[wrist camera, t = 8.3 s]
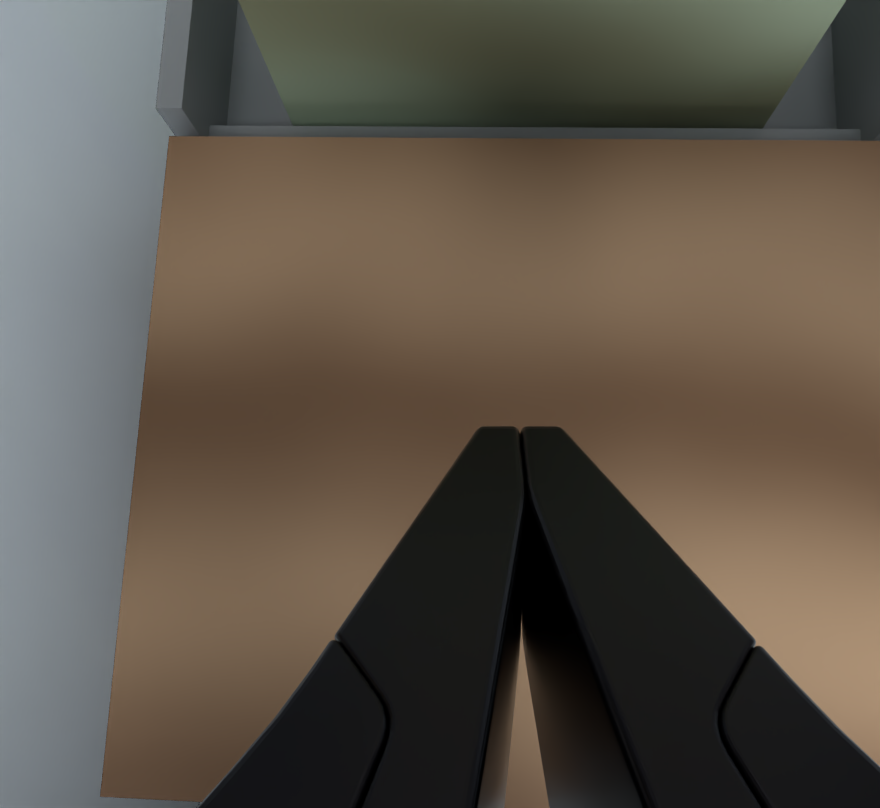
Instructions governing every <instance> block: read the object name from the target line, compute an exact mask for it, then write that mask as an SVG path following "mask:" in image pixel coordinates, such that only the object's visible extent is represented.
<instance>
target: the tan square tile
mask: <svg viewBox="0 0 880 808" xmlns="http://www.w3.org/2000/svg"><path fill="white" fill-rule="evenodd" d="M481 426H514V427H516V428H517V429H518V430H519V432H520V431H521V430H522V428H524V427H526V426H559V427H561V428H562V429H564V430H565V431H566V432H567V434H568V435H569V436H570V437H571V438H572V439H573V440H574V441H575V442H576V443H577V445H578V446H579V447H580V448H581V449H582V450H583V451H584V452H585V453H586V454H587V455H588V457H589V458H590V459H591V460H592V461H593V462H594V463H595V464H596V465H597V466H598V468H599V469H600V470H601V471H602V472H603V473H604V474H605V475H606V476H607V477H608V478H609V480H610V481H611V482H612V483H613V484H614V485H615V486H616V487H617V488H618V489H619V491H620V492H621V493H622V494H623V495H624V496H625V497H626V498H627V499H628V500H629V502H630V503H631V504H632V505H633V506H634V507H635V508H636V509H637V510H638V511H639V512H640V514H641V515H642V516H643V517H644V518H645V519H646V520H647V521H648V522H649V523H650V525H651V526H652V527H653V528H654V529H655V530H656V531H657V532H658V533H659V534H660V535H661V537H662V538H663V539H664V540H665V541H666V542H667V543H668V544H669V545H670V546H671V548H672V549H673V550H674V551H675V552H676V553H677V554H678V555H679V556H680V557H681V559H682V560H683V561H684V562H685V563H686V564H687V565H688V566H689V567H690V568H691V569H692V571H693V572H694V573H695V574H696V575H697V576H698V577H699V578H700V579H701V580H702V582H703V583H704V584H705V585H706V586H707V587H708V588H709V589H710V590H711V591H712V592H713V594H714V595H715V596H716V597H717V598H718V599H719V600H720V601H721V602H722V603H723V605H724V606H725V607H726V608H727V609H728V610H729V611H730V612H731V613H732V614H733V616H734V617H735V618H736V619H737V620H738V621H739V622H740V623H741V624H742V625H743V626H744V628H745V629H746V630H747V631H748V632H749V633H750V634H751V635H752V636H753V637H754V639H755V641H756V646H762V647H763V648H764V649H765V650H766V651H767V652H768V653H769V654H770V656H771V657H772V658H773V659H774V660H775V661H776V662H777V663H778V664H779V665H780V666H781V668H782V669H783V670H784V671H785V672H786V673H787V674H788V675H789V676H790V677H791V678H792V679H793V681H794V682H795V683H796V684H797V685H798V686H799V687H800V688H801V689H802V690H803V691H804V692H805V693H806V694H807V695H808V696H809V697H810V698H811V699H812V700H813V701H814V702H815V703H816V704H817V705H818V706H819V708H820V709H821V710H822V711H823V712H824V713H825V714H826V715H827V716H828V717H829V718H830V719H831V720H832V721H833V722H834V723H835V724H836V725H837V726H838V727H839V728H840V729H841V730H842V731H843V732H844V733H845V734H846V735H847V736H848V737H849V738H850V739H851V740H853V741H854V742H855V743H856V744H857V745H858V746H859V747H860V748H861V749H862V750H863V751H864V752H865V753H866V754H867V755H868V756H869V757H871V758H872V759H873V760H874V761H875V762H876V763H877V764H878V765H879V766H880V141H831V140H678V139H524V138H371V137H217V136H169V143H168V153H167V162H166V172H165V181H164V191H163V200H162V210H161V219H160V229H159V239H158V248H157V258H156V267H155V277H154V286H153V296H152V306H151V315H150V325H149V334H148V344H147V353H146V363H145V372H144V382H143V392H142V401H141V411H140V420H139V430H138V439H137V449H136V459H135V468H134V478H133V487H132V497H131V506H130V516H129V525H128V535H127V545H126V554H125V564H124V573H123V583H122V592H121V602H120V612H119V621H118V631H117V640H116V650H115V659H114V669H113V678H112V688H111V698H110V707H109V717H108V726H107V736H106V745H105V755H104V765H103V774H102V784H101V793H100V797H117V798H136V799H155V800H174V801H193V802H202V801H203V800H204V799H205V798H206V797H207V796H208V794H209V793H210V792H211V791H212V790H213V789H214V788H215V787H216V785H217V784H218V783H219V782H220V781H221V780H222V779H223V778H224V776H225V775H226V774H227V773H228V772H229V771H230V770H231V768H232V767H233V766H234V765H235V764H236V763H237V761H238V760H239V759H240V758H241V757H242V755H243V754H244V753H245V752H246V751H247V750H248V748H249V747H250V746H251V745H252V744H253V743H254V741H255V740H256V739H257V738H258V737H259V735H260V734H261V733H262V732H263V731H264V730H265V728H266V727H267V726H268V725H269V724H270V722H271V721H272V720H273V719H274V718H275V716H276V715H277V714H278V712H279V711H280V710H281V708H282V707H283V706H284V704H285V703H286V701H287V700H288V699H289V697H290V696H291V695H292V693H293V692H294V691H295V689H296V688H297V687H298V685H299V684H300V683H301V681H302V680H303V679H304V677H305V676H306V675H307V673H308V672H309V670H310V669H311V668H312V666H313V665H314V663H315V662H316V660H317V659H318V657H319V656H320V655H321V653H322V652H323V650H324V649H325V647H326V646H327V644H328V643H329V642H330V641H331V640H335V639H334V638H335V634H336V632H337V631H338V629H339V628H340V626H341V625H342V623H343V622H344V621H345V619H346V618H347V616H348V615H349V613H350V612H351V610H352V609H353V608H354V606H355V605H356V603H357V602H358V600H359V599H360V597H361V596H362V595H363V593H364V592H365V590H366V589H367V587H368V586H369V584H370V583H371V582H372V580H373V579H374V577H375V576H376V574H377V573H378V571H379V570H380V569H381V567H382V566H383V564H384V563H385V561H386V560H387V558H388V557H389V556H390V554H391V553H392V551H393V550H394V548H395V547H396V545H397V544H398V543H399V541H400V540H401V538H402V537H403V535H404V534H405V532H406V531H407V530H408V528H409V527H410V525H411V524H412V522H413V521H414V520H415V518H416V517H417V515H418V514H419V512H420V511H421V509H422V508H423V507H424V505H425V504H426V502H427V501H428V499H429V498H430V496H431V495H432V494H433V492H434V491H435V489H436V488H437V486H438V485H439V483H440V482H441V481H442V479H443V478H444V476H445V475H446V473H447V472H448V470H449V469H450V468H451V466H452V465H453V463H454V462H455V460H456V459H457V457H458V456H459V455H460V453H461V452H462V450H463V449H464V447H465V446H466V444H467V443H468V442H469V440H470V439H471V437H472V436H473V434H474V433H475V432H476V430H477V429H478V428H480V427H481ZM504 808H549V802H548V796H547V790H546V784H545V778H544V772H543V765H542V759H541V753H540V747H539V741H538V735H537V729H536V723H535V717H534V710H533V704H532V698H531V692H530V686H529V680H528V674H527V668H526V661H525V654H524V646H523V638H522V623H521V640H520V655H519V667H518V677H517V686H516V696H515V706H514V716H513V726H512V736H511V746H510V756H509V766H508V776H507V785H506V795H505V805H504Z"/></svg>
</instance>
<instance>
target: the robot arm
mask: <svg viewBox="0 0 880 808" xmlns="http://www.w3.org/2000/svg"><path fill="white" fill-rule="evenodd" d="M521 623H522V638H523V646H524V654H525V661H526V668H527V674H528V680H529V686H530V692H531V698H532V704H533V710H534V717H535V723H536V729H537V735H538V741H539V747H540V753H541V759H542V765H543V772H544V778H545V784H546V790H547V796H548V802H549V808H880V766H879V765H878V764H877V763H876V762H875V761H874V760H873V759H872V758H871V757H869V756H868V755H867V754H866V753H865V752H864V751H863V750H862V749H861V748H860V747H859V746H858V745H857V744H856V743H855V742H854V741H853V740H851V739H850V738H849V737H848V736H847V735H846V734H845V733H844V732H843V731H842V730H841V729H840V728H839V727H838V726H837V725H836V724H835V723H834V722H833V721H832V720H831V719H830V718H829V717H828V716H827V715H826V714H825V713H824V712H823V711H822V710H821V709H820V708H819V706H818V705H817V704H816V703H815V702H814V701H813V700H812V699H811V698H810V697H809V696H808V695H807V694H806V693H805V692H804V691H803V690H802V689H801V688H800V687H799V686H798V685H797V684H796V683H795V682H794V681H793V679H792V678H791V677H790V676H789V675H788V674H787V673H786V672H785V671H784V670H783V669H782V668H781V666H780V665H779V664H778V663H777V662H776V661H775V660H774V659H773V658H772V657H771V656H770V654H769V653H768V652H767V651H766V650H765V649H764V648H763V647H762V646H756V641H755V639H754V637H753V636H752V635H751V634H750V633H749V632H748V631H747V630H746V629H745V628H744V626H743V625H742V624H741V623H740V622H739V621H738V620H737V619H736V618H735V617H734V616H733V614H732V613H731V612H730V611H729V610H728V609H727V608H726V607H725V606H724V605H723V603H722V602H721V601H720V600H719V599H718V598H717V597H716V596H715V595H714V594H713V592H712V591H711V590H710V589H709V588H708V587H707V586H706V585H705V584H704V583H703V582H702V580H701V579H700V578H699V577H698V576H697V575H696V574H695V573H694V572H693V571H692V569H691V568H690V567H689V566H688V565H687V564H686V563H685V562H684V561H683V560H682V559H681V557H680V556H679V555H678V554H677V553H676V552H675V551H674V550H673V549H672V548H671V546H670V545H669V544H668V543H667V542H666V541H665V540H664V539H663V538H662V537H661V535H660V534H659V533H658V532H657V531H656V530H655V529H654V528H653V527H652V526H651V525H650V523H649V522H648V521H647V520H646V519H645V518H644V517H643V516H642V515H641V514H640V512H639V511H638V510H637V509H636V508H635V507H634V506H633V505H632V504H631V503H630V502H629V500H628V499H627V498H626V497H625V496H624V495H623V494H622V493H621V492H620V491H619V489H618V488H617V487H616V486H615V485H614V484H613V483H612V482H611V481H610V480H609V478H608V477H607V476H606V475H605V474H604V473H603V472H602V471H601V470H600V469H599V468H598V466H597V465H596V464H595V463H594V462H593V461H592V460H591V459H590V458H589V457H588V455H587V454H586V453H585V452H584V451H583V450H582V449H581V448H580V447H579V446H578V445H577V443H576V442H575V441H574V440H573V439H572V438H571V437H570V436H569V435H568V434H567V432H566V431H565V430H564V429H562V428H561V427H559V426H526V427H524V428H522V430H521V431H520V432H519V430H518V429H517V428H516V427H514V426H481V427H480V428H478V429H477V430H476V432H475V433H474V434H473V436H472V437H471V439H470V440H469V442H468V443H467V444H466V446H465V447H464V449H463V450H462V452H461V453H460V455H459V456H458V457H457V459H456V460H455V462H454V463H453V465H452V466H451V468H450V469H449V470H448V472H447V473H446V475H445V476H444V478H443V479H442V481H441V482H440V483H439V485H438V486H437V488H436V489H435V491H434V492H433V494H432V495H431V496H430V498H429V499H428V501H427V502H426V504H425V505H424V507H423V508H422V509H421V511H420V512H419V514H418V515H417V517H416V518H415V520H414V521H413V522H412V524H411V525H410V527H409V528H408V530H407V531H406V532H405V534H404V535H403V537H402V538H401V540H400V541H399V543H398V544H397V545H396V547H395V548H394V550H393V551H392V553H391V554H390V556H389V557H388V558H387V560H386V561H385V563H384V564H383V566H382V567H381V569H380V570H379V571H378V573H377V574H376V576H375V577H374V579H373V580H372V582H371V583H370V584H369V586H368V587H367V589H366V590H365V592H364V593H363V595H362V596H361V597H360V599H359V600H358V602H357V603H356V605H355V606H354V608H353V609H352V610H351V612H350V613H349V615H348V616H347V618H346V619H345V621H344V622H343V623H342V625H341V626H340V628H339V629H338V631H337V632H336V634H335V638H334V639H335V640H331V641H330V642H329V643H328V644H327V646H326V647H325V649H324V650H323V652H322V653H321V655H320V656H319V657H318V659H317V660H316V662H315V663H314V665H313V666H312V668H311V669H310V670H309V672H308V673H307V675H306V676H305V677H304V679H303V680H302V681H301V683H300V684H299V685H298V687H297V688H296V689H295V691H294V692H293V693H292V695H291V696H290V697H289V699H288V700H287V701H286V703H285V704H284V706H283V707H282V708H281V710H280V711H279V712H278V714H277V715H276V716H275V718H274V719H273V720H272V721H271V722H270V724H269V725H268V726H267V727H266V728H265V730H264V731H263V732H262V733H261V734H260V735H259V737H258V738H257V739H256V740H255V741H254V743H253V744H252V745H251V746H250V747H249V748H248V750H247V751H246V752H245V753H244V754H243V755H242V757H241V758H240V759H239V760H238V761H237V763H236V764H235V765H234V766H233V767H232V768H231V770H230V771H229V772H228V773H227V774H226V775H225V776H224V778H223V779H222V780H221V781H220V782H219V783H218V784H217V785H216V787H215V788H214V789H213V790H212V791H211V792H210V793H209V794H208V796H207V797H206V798H205V799H204V800H203V801H202V802H201V803H200V804H199V806H198V807H197V808H504V805H505V795H506V785H507V776H508V766H509V756H510V746H511V736H512V726H513V716H514V706H515V696H516V686H517V677H518V667H519V655H520V640H521Z"/></svg>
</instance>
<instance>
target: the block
mask: <svg viewBox="0 0 880 808" xmlns="http://www.w3.org/2000/svg"><path fill="white" fill-rule="evenodd" d="M238 1H239V3H240V5H241V8H242V10H243V12H244V14H245V17H246V19H247V21H248V24H249V26H250V28H251V31H252V33H253V35H254V37H255V40H256V42H257V44H258V47H259V49H260V51H261V54H262V56H263V58H264V60H265V63H266V65H267V67H268V70H269V72H270V74H271V77H272V79H273V81H274V84H275V86H276V88H277V90H278V93H279V95H280V97H281V100H282V102H283V104H284V107H285V109H286V111H287V113H288V116H289V118H290V120H291V123H292V125H293V126H396V127H570V128H744V129H763V127H764V126H765V124H766V123H767V121H768V120H769V118H770V116H771V115H772V113H773V112H774V110H775V109H776V107H777V106H778V104H779V103H780V101H781V100H782V98H783V96H784V95H785V93H786V92H787V90H788V89H789V87H790V86H791V84H792V83H793V81H794V80H795V78H796V77H797V75H798V73H799V72H800V70H801V69H802V67H803V66H804V64H805V63H806V61H807V60H808V58H809V57H810V55H811V54H812V52H813V50H814V49H815V47H816V46H817V44H818V43H819V41H820V40H821V38H822V37H823V35H824V34H825V32H826V31H827V29H828V27H829V26H830V24H831V23H832V21H833V20H834V18H835V17H836V15H837V14H838V12H839V11H840V9H841V8H842V6H843V4H844V3H845V1H846V0H238Z"/></svg>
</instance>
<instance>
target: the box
mask: <svg viewBox="0 0 880 808" xmlns="http://www.w3.org/2000/svg"><path fill="white" fill-rule="evenodd" d="M156 109H157V111H158V112H159V113H160V115H161V116H162V118H163V119H164V120H165V122H166V123H167V125H168V126H169V127H170V129H171V130H172V131H173V133H174V134H175V136H217V137H371V138H524V139H678V140H831V141H880V0H846V1H845V3H844V4H843V6H842V8H841V9H840V11H839V12H838V14H837V15H836V17H835V18H834V20H833V21H832V23H831V24H830V26H829V27H828V29H827V31H826V32H825V34H824V35H823V37H822V38H821V40H820V41H819V43H818V44H817V46H816V47H815V49H814V50H813V52H812V54H811V55H810V57H809V58H808V60H807V61H806V63H805V64H804V66H803V67H802V69H801V70H800V72H799V73H798V75H797V77H796V78H795V80H794V81H793V83H792V84H791V86H790V87H789V89H788V90H787V92H786V93H785V95H784V96H783V98H782V100H781V101H780V103H779V104H778V106H777V107H776V109H775V110H774V112H773V113H772V115H771V116H770V118H769V120H768V121H767V123H766V124H765V126H764V127H763V129H744V128H570V127H396V126H293V125H292V123H291V120H290V118H289V116H288V113H287V111H286V109H285V107H284V104H283V102H282V100H281V97H280V95H279V93H278V90H277V88H276V86H275V84H274V81H273V79H272V77H271V74H270V72H269V70H268V67H267V65H266V63H265V60H264V58H263V56H262V54H261V51H260V49H259V47H258V44H257V42H256V40H255V37H254V35H253V33H252V31H251V28H250V26H249V24H248V21H247V19H246V17H245V14H244V12H243V10H242V8H241V5H240V3H239V1H238V0H167V8H166V17H165V27H164V36H163V45H162V54H161V63H160V73H159V82H158V91H157V100H156Z"/></svg>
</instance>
